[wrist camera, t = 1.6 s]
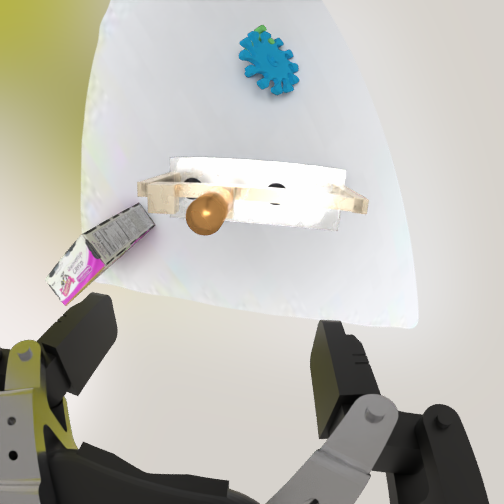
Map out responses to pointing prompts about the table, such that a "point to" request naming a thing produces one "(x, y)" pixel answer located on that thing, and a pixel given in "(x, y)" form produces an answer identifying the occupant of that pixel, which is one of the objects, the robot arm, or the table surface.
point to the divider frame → (257, 191)
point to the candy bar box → (97, 252)
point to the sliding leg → (211, 208)
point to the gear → (268, 61)
